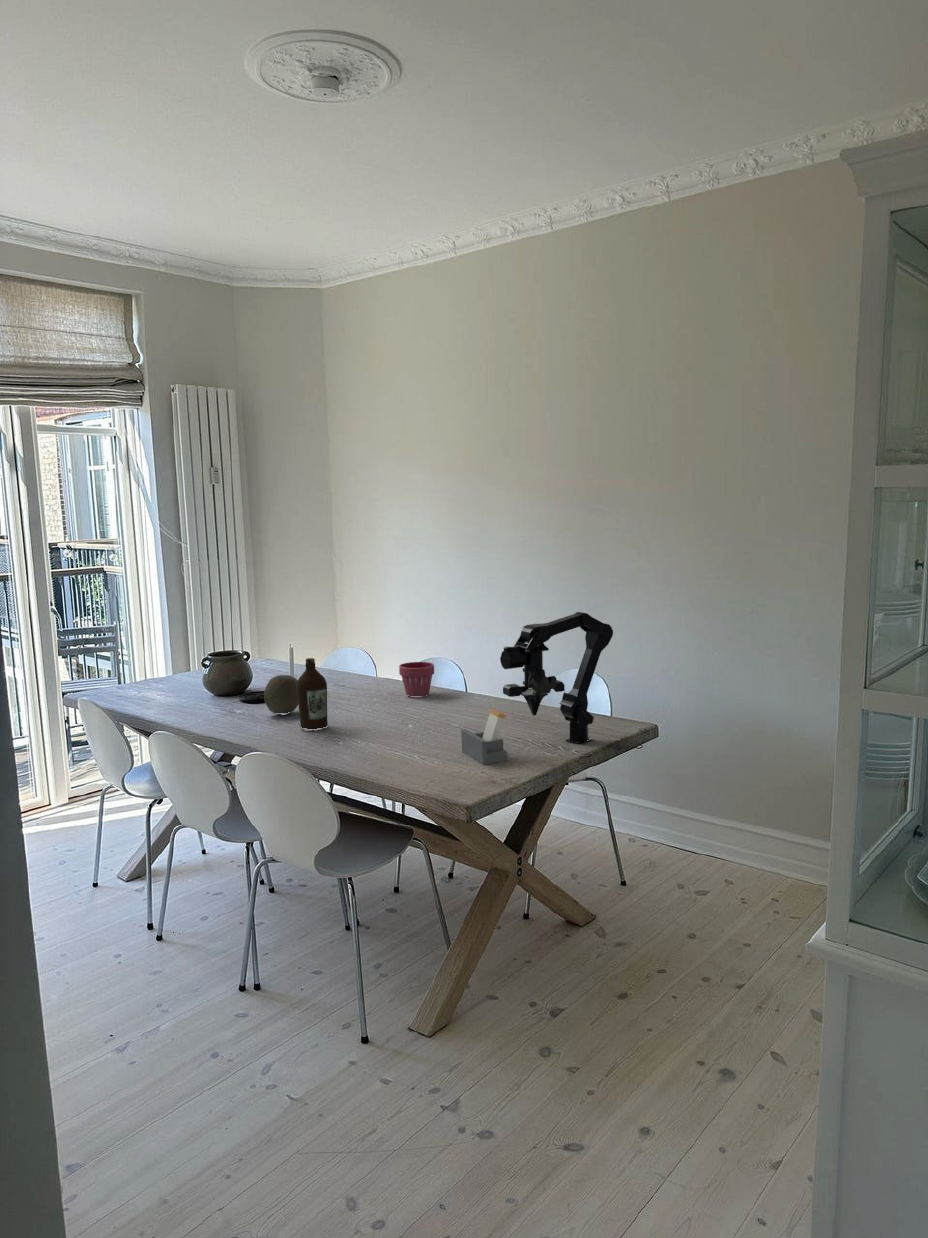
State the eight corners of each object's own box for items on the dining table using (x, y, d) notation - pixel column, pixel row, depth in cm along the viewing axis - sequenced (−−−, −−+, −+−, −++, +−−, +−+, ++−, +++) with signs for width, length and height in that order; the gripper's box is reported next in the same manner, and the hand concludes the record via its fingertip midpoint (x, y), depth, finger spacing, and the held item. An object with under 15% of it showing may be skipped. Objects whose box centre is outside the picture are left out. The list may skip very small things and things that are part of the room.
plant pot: (442, 693, 356) (440, 662, 354) (422, 700, 344) (421, 669, 343) (413, 690, 364) (412, 660, 362) (393, 697, 352) (392, 666, 350)
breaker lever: (487, 741, 270) (497, 710, 270) (496, 746, 264) (506, 715, 264) (480, 739, 269) (490, 708, 269) (489, 744, 263) (499, 713, 263)
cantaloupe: (299, 718, 324) (296, 678, 322) (261, 719, 324) (258, 680, 322) (306, 709, 338) (304, 671, 336) (270, 710, 338) (267, 672, 336)
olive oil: (294, 727, 310) (289, 658, 306) (321, 722, 315) (317, 655, 312) (306, 733, 301) (301, 662, 297) (334, 728, 306) (330, 658, 303)
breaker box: (485, 747, 275) (484, 726, 274) (507, 760, 261) (506, 738, 260) (462, 751, 272) (461, 729, 271) (482, 764, 258) (481, 741, 257)
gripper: (516, 673, 258) (517, 724, 260) (572, 667, 264) (573, 717, 266) (501, 666, 268) (502, 716, 270) (556, 661, 274) (556, 710, 276)
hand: (534, 715), depth 270 cm, fingers closed
